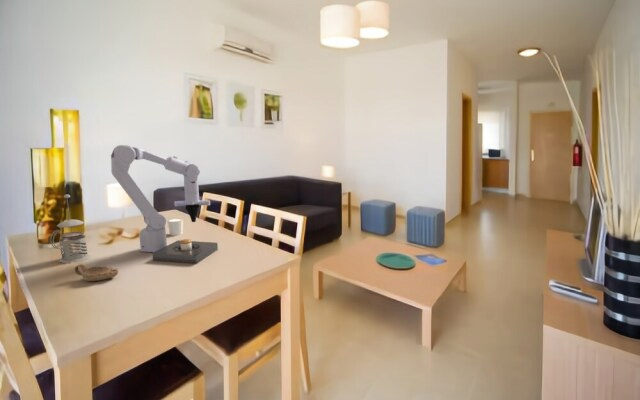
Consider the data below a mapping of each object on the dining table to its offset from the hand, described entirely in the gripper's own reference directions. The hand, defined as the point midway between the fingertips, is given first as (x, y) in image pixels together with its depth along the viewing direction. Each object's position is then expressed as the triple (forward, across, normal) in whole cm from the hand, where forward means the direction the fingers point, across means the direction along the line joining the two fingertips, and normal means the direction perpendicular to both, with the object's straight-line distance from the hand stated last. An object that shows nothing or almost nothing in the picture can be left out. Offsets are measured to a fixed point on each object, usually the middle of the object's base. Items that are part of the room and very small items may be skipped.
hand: (193, 221), depth 141 cm
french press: (+10, -42, -15) cm, 45 cm away
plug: (+9, 0, -17) cm, 20 cm away
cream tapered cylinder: (+10, -12, +15) cm, 21 cm away
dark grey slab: (+9, 0, -17) cm, 20 cm away
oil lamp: (+10, -24, -36) cm, 44 cm away
